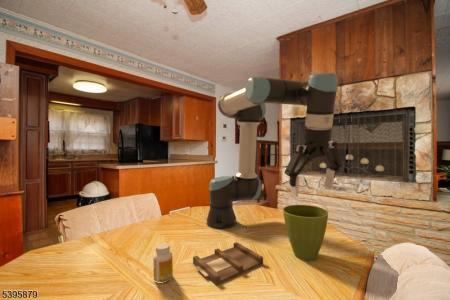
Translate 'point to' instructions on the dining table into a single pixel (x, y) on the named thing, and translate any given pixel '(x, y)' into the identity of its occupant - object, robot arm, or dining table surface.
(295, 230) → the flower pot
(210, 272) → the slot board
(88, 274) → the dining table surface
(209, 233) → the dining table surface
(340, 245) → the dining table surface
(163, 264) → the supplement bottle
